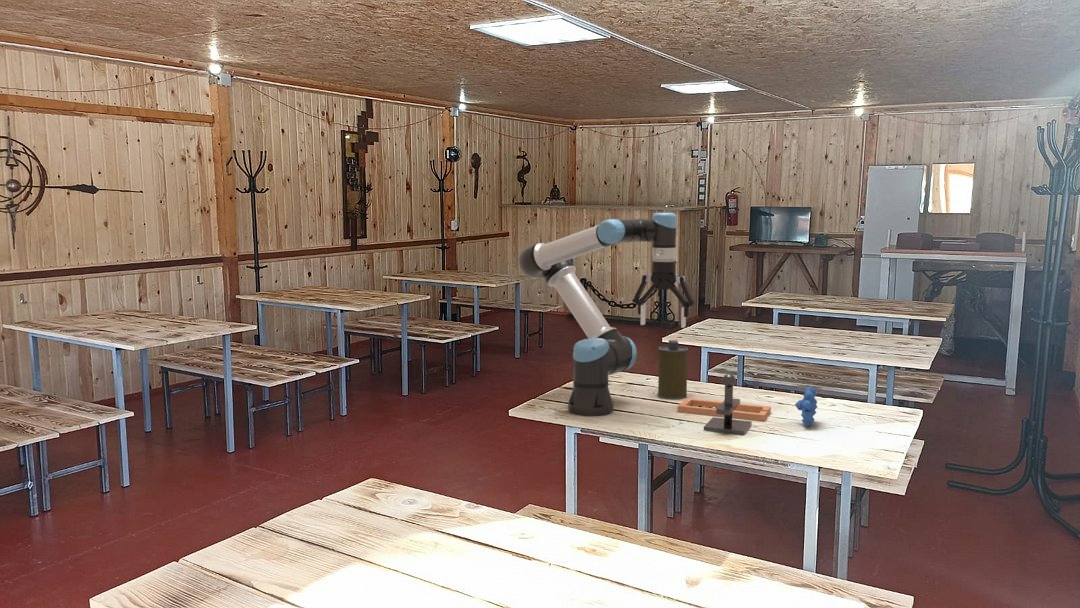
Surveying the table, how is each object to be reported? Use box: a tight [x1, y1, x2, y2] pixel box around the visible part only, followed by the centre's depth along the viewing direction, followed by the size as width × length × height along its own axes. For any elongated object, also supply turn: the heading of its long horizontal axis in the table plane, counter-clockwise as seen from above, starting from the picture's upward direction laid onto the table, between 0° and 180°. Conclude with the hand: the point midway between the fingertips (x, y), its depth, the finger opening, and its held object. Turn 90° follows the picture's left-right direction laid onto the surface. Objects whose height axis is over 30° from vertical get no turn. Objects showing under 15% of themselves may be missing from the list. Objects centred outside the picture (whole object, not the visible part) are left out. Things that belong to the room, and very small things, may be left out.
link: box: [676, 397, 772, 422], centre depth 260 cm, size 28×12×2 cm, turn 64°
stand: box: [703, 373, 753, 436], centre depth 241 cm, size 12×15×17 cm
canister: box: [657, 339, 689, 400], centre depth 282 cm, size 11×10×20 cm
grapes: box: [794, 385, 818, 427], centre depth 245 cm, size 12×7×12 cm, turn 152°
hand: (662, 325), depth 258 cm, fingers open, 13 cm apart
